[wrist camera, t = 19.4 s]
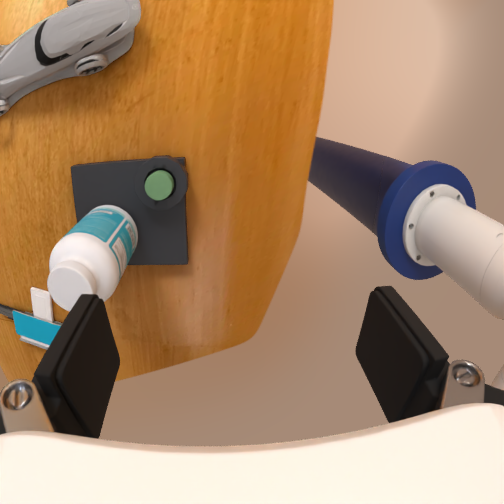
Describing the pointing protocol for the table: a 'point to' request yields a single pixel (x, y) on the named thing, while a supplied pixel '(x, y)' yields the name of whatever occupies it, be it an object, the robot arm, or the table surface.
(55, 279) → the pill bottle
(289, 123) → the table surface
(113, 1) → the car model
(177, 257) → the scale
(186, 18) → the table surface
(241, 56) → the table surface
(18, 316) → the blue paper trimmer
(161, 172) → the button
